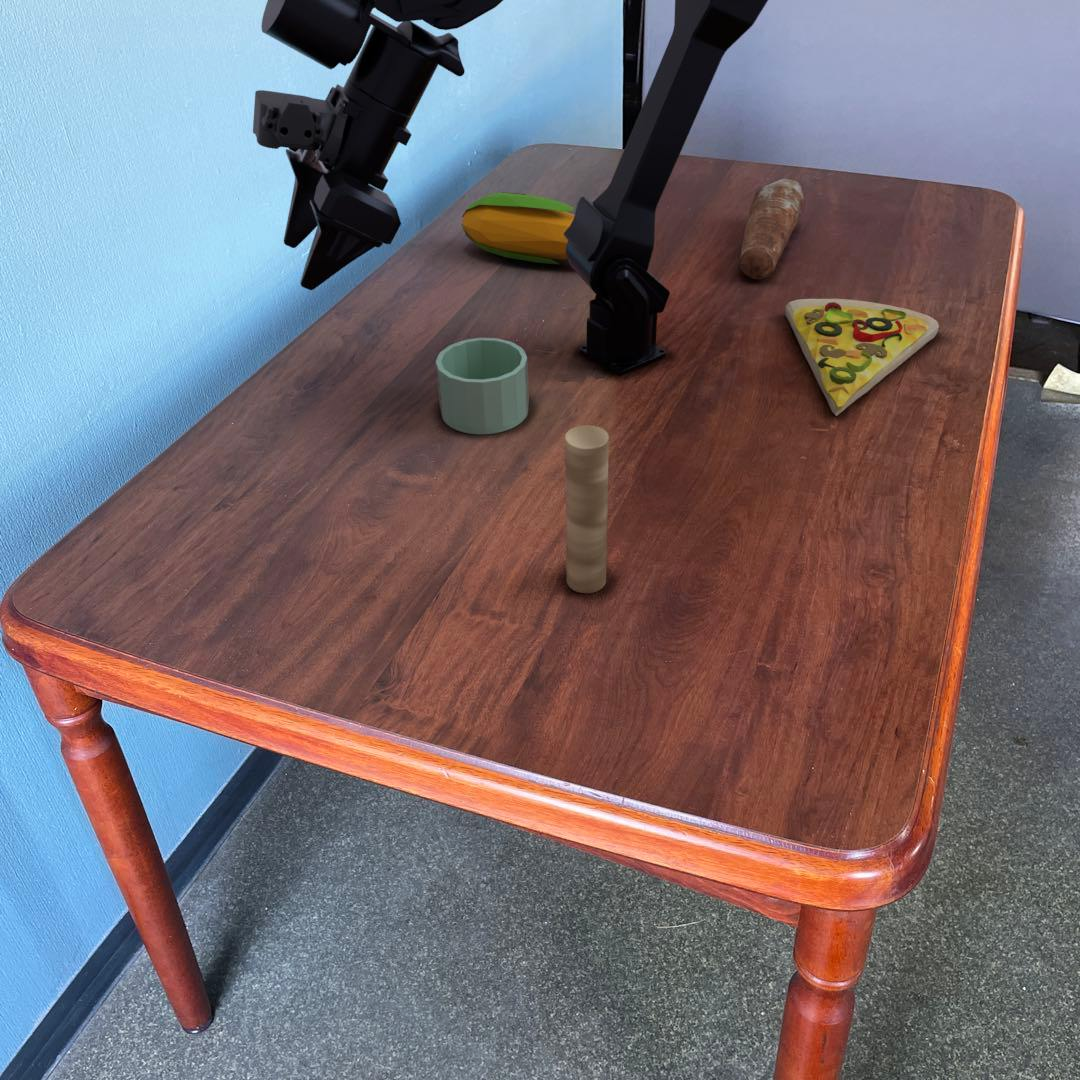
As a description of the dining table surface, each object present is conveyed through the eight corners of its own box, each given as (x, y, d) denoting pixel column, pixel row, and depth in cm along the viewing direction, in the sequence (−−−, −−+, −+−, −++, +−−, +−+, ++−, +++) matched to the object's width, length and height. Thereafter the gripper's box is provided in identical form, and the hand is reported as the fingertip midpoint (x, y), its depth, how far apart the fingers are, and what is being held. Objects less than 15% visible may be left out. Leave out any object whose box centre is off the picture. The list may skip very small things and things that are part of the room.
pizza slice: (937, 328, 112) (943, 302, 110) (921, 431, 96) (928, 403, 95) (787, 308, 116) (791, 282, 114) (750, 404, 101) (753, 376, 99)
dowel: (589, 563, 83) (590, 419, 75) (614, 582, 81) (617, 438, 73) (558, 578, 82) (556, 434, 74) (583, 599, 80) (583, 453, 72)
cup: (495, 379, 105) (492, 329, 102) (545, 414, 100) (544, 362, 97) (424, 407, 102) (419, 356, 98) (473, 444, 97) (469, 391, 93)
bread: (803, 223, 134) (809, 179, 131) (775, 287, 120) (781, 240, 117) (753, 217, 136) (757, 173, 132) (719, 280, 122) (724, 233, 118)
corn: (475, 173, 129) (633, 195, 122) (481, 233, 134) (632, 256, 127) (447, 199, 124) (609, 223, 117) (454, 260, 129) (610, 286, 122)
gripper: (270, 19, 89) (196, 188, 95) (308, 78, 75) (218, 271, 81) (387, 85, 95) (311, 240, 101) (442, 151, 81) (350, 326, 87)
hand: (296, 265), depth 92 cm, fingers open, 9 cm apart
